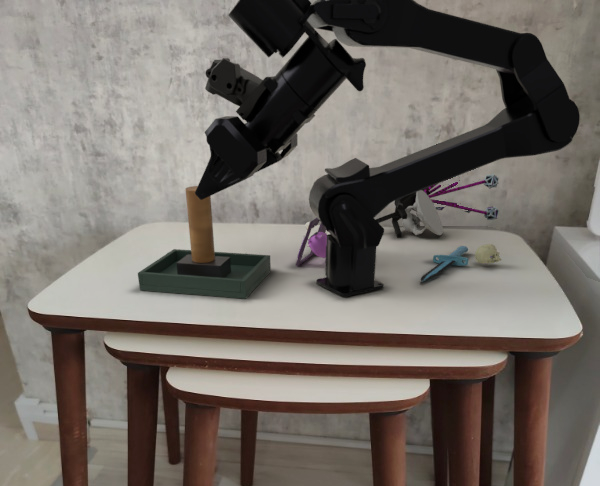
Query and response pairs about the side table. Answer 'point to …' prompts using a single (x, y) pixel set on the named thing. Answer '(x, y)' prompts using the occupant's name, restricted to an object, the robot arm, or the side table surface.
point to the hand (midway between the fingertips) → (212, 189)
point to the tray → (235, 285)
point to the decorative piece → (439, 202)
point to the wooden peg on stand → (201, 241)
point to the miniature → (423, 216)
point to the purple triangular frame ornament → (313, 242)
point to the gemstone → (487, 254)
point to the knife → (446, 262)
